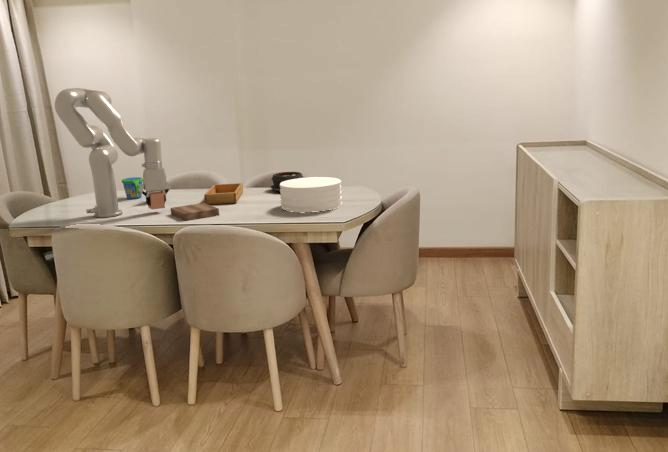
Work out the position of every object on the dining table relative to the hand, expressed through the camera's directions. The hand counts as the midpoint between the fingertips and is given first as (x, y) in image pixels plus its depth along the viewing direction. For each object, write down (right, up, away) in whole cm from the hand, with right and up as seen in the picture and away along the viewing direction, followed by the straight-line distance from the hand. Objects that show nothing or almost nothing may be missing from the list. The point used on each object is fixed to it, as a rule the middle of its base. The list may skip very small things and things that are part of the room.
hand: (156, 204), depth 321 cm
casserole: (+58, +9, +44) cm, 73 cm away
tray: (+27, +3, +28) cm, 39 cm away
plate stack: (+72, -2, -2) cm, 72 cm away
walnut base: (+19, -5, -8) cm, 22 cm away
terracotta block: (0, -2, 0) cm, 2 cm away
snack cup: (-22, +4, +42) cm, 48 cm away
